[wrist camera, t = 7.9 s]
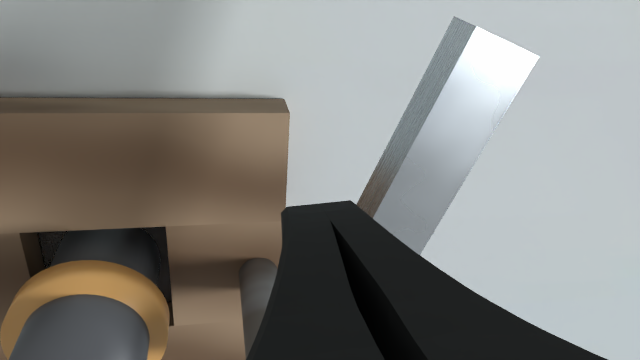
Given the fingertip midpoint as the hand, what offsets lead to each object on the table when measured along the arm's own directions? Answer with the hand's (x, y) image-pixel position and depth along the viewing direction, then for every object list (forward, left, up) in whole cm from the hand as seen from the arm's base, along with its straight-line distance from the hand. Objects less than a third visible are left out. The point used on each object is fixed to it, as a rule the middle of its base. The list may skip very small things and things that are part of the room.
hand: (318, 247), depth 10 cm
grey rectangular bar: (-3, -2, -2) cm, 4 cm away
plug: (-8, +6, -10) cm, 14 cm away
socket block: (-8, +6, -10) cm, 14 cm away
